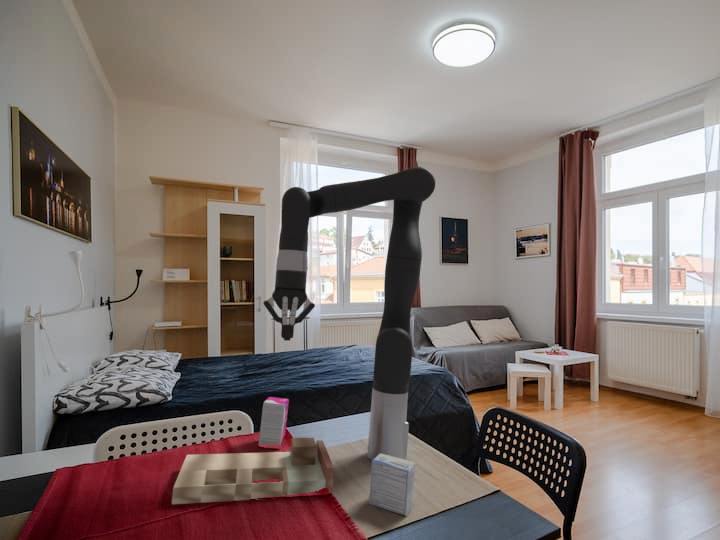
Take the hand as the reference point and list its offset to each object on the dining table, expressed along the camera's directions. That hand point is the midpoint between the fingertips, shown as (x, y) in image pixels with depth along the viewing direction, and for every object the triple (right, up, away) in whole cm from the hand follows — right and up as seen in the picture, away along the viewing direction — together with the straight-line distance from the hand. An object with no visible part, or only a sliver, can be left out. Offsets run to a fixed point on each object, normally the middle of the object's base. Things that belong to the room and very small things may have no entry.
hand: (286, 340), depth 94 cm
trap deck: (-4, -28, -13) cm, 31 cm away
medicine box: (+24, -30, -18) cm, 42 cm away
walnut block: (+5, -26, -8) cm, 27 cm away
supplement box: (-5, -29, +7) cm, 30 cm away
